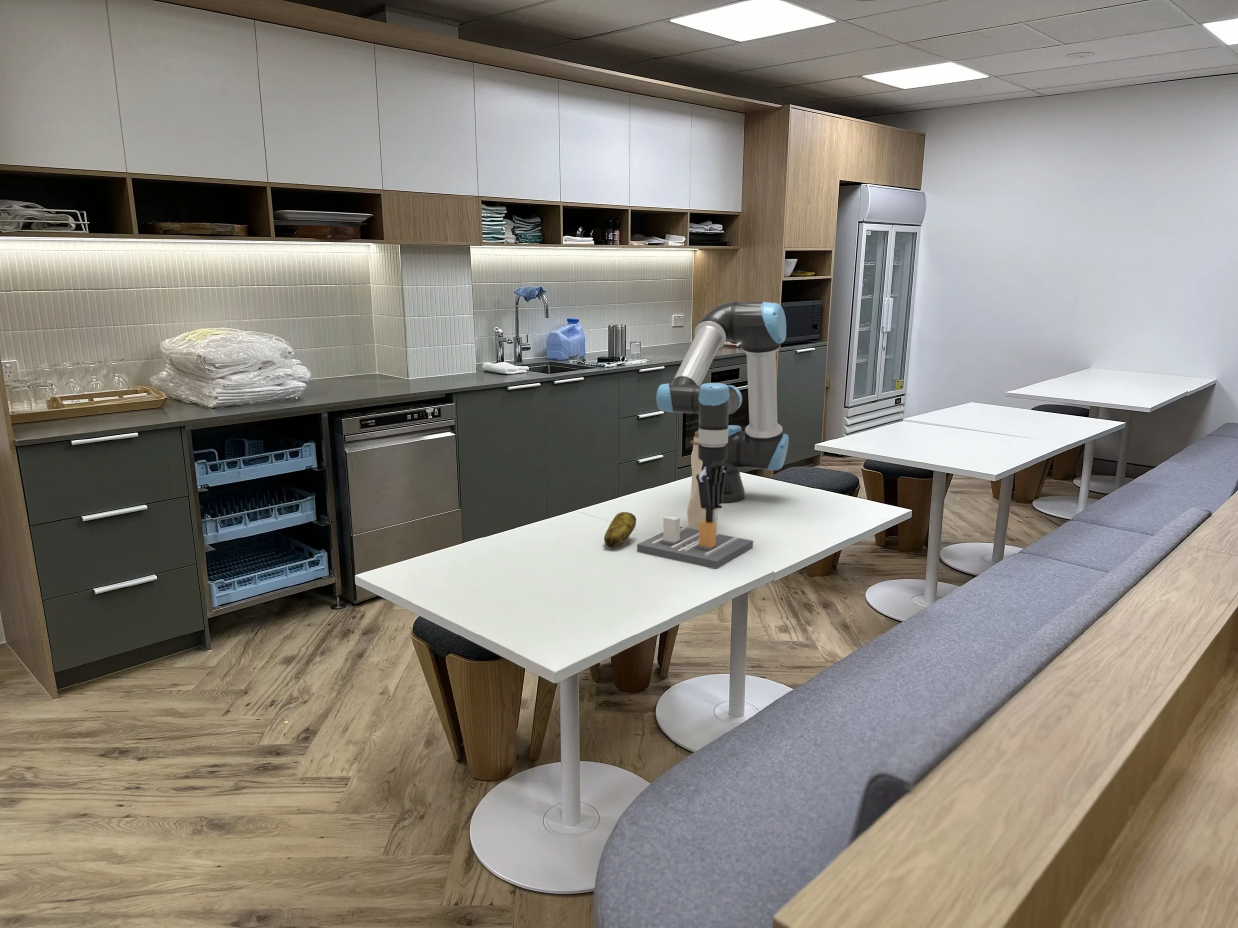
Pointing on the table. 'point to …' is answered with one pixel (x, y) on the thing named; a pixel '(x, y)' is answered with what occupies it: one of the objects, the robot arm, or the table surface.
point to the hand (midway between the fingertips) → (711, 532)
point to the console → (690, 553)
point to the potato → (620, 529)
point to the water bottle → (695, 489)
